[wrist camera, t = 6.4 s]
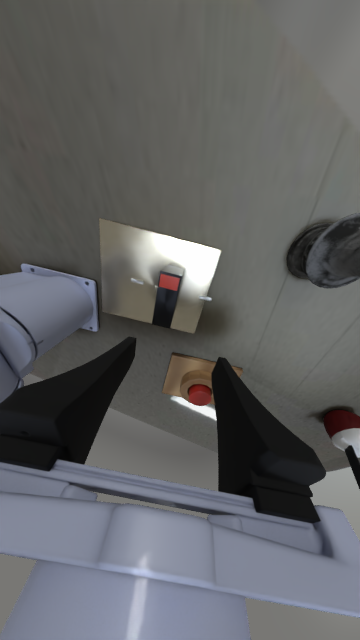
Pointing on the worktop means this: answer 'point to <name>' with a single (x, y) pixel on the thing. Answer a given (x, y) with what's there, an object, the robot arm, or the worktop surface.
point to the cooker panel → (152, 273)
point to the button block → (189, 375)
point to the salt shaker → (328, 253)
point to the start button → (199, 394)
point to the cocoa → (345, 436)
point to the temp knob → (167, 295)
